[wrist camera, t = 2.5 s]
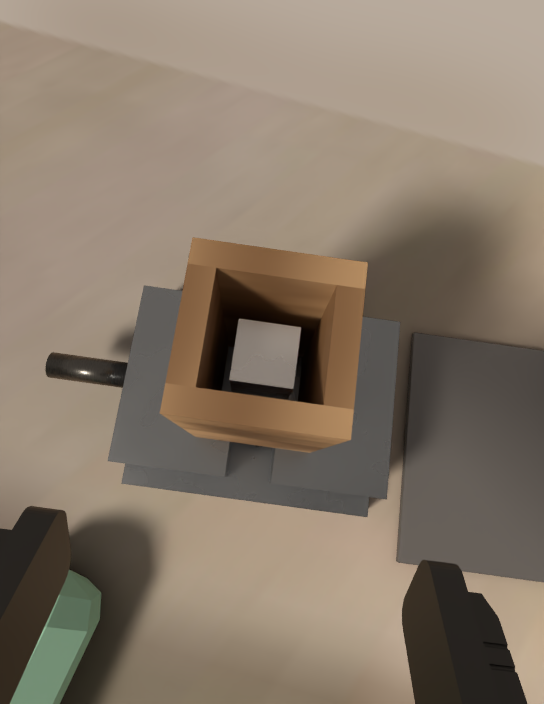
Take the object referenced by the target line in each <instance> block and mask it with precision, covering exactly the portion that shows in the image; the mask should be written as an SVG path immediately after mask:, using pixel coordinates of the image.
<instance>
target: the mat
mask: <svg viewBox="0 0 544 704" xmlns="http://www.w3.org/2000/svg"><path fill="white" fill-rule="evenodd" d="M422 560H431V561H438V562H446V563H453V564H457V565H458V566H459V567H460V569H461V571H464V572H472V573H479V574H486V575H494V576H501V577H509V578H516V579H523V580H531V581H538V582H544V351H541V350H534V349H527V348H520V347H513V346H506V345H499V344H492V343H485V342H478V341H471V340H464V339H457V338H450V337H443V336H436V335H429V334H422V333H415V332H414V333H413V334H412V343H411V357H410V372H409V386H408V400H407V414H406V429H405V443H404V457H403V471H402V486H401V500H400V514H399V529H398V543H397V557H396V561H397V562H398V563H406V564H413V565H419V564H420V562H421V561H422Z"/></svg>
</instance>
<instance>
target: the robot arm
mask: <svg viewBox="0 0 544 704" xmlns="http://www.w3.org/2000/svg"><path fill="white" fill-rule="evenodd" d="M70 562H71V547H70V539H69V532H68V524H67V517H66V513H65V511H63V510H57V509H49V508H42V507H34V506H29V507H27V508H26V509H25V510H24V512H23V513H22V514H21V516H20V518H19V519H18V521H17V523H16V524H15V526H14V528H13V529H12V530H7V529H0V704H10V702H11V700H12V698H13V695H14V693H15V691H16V689H17V686H18V684H19V682H20V680H21V678H22V675H23V673H24V671H25V669H26V667H27V664H28V662H29V660H30V658H31V656H32V653H33V651H34V649H35V647H36V645H37V642H38V640H39V638H40V636H41V634H42V631H43V629H44V627H45V625H46V623H47V620H48V618H49V616H50V614H51V611H52V609H53V607H54V605H55V603H56V600H57V598H58V596H59V594H60V592H61V589H62V587H63V585H64V583H65V580H66V578H67V575H68V571H69V567H70ZM402 625H403V632H404V638H405V644H406V650H407V656H408V662H409V668H410V674H411V681H412V687H413V693H414V699H415V704H527V701H526V698H525V695H524V692H523V689H522V686H521V683H520V680H519V677H518V674H517V673H516V672H515V665H514V662H513V659H512V656H511V653H510V650H508V649H507V645H508V644H507V642H506V639H505V636H504V633H503V630H502V627H501V624H500V621H499V618H498V616H497V615H496V614H495V612H494V611H493V609H492V608H491V606H490V605H489V604H488V602H487V601H486V599H485V598H484V597H483V595H482V594H480V593H473V592H468V590H467V587H466V583H465V580H464V577H463V574H462V571H461V569H460V567H459V566H458V565H457V564H453V563H446V562H438V561H431V560H422V561H421V562H420V564H419V566H418V568H417V571H416V573H415V575H414V577H413V580H412V582H411V584H410V586H409V589H408V591H407V593H406V595H405V598H404V602H403V608H402Z"/></svg>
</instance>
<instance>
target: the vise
mask: <svg viewBox="0 0 544 704" xmlns="http://www.w3.org/2000/svg"><path fill="white" fill-rule="evenodd" d="M181 297H182V291H179V290H172V289H165V288H158V287H151V286H144V288H143V293H142V298H141V303H140V307H139V312H138V317H137V322H136V327H135V332H134V336H133V341H132V346H131V351H130V356H129V360H128V363H125V362H118V361H111V360H104V359H97V358H90V357H83V356H75V355H68V354H61V353H54V352H53V353H51V354H50V355H49V357H48V359H47V362H46V375H47V376H48V377H50V378H57V379H64V380H71V381H79V382H86V383H93V384H100V385H107V386H114V387H121V388H123V389H122V394H121V399H120V404H119V409H118V414H117V418H116V423H115V428H114V433H113V438H112V443H111V447H110V452H109V457H108V461H111V462H119V463H125V468H124V473H123V478H122V484H129V485H136V486H144V487H151V488H158V489H166V490H173V491H180V492H187V493H195V494H202V495H209V496H217V497H224V498H231V499H238V500H246V501H253V502H260V503H268V504H275V505H282V506H290V507H297V508H304V509H311V510H319V511H326V512H333V513H341V514H348V515H355V516H362V517H367V516H368V504H369V497H373V498H380V499H387V489H388V476H389V463H390V450H391V437H392V424H393V411H394V397H395V384H396V371H397V358H398V345H399V332H400V322H397V321H390V320H383V319H376V318H369V317H363V319H362V329H361V340H360V350H359V361H358V371H357V382H356V392H355V403H354V413H353V424H352V434H351V440H349V441H346V442H343V443H340V444H336V445H333V446H330V447H327V448H324V449H320V450H317V451H314V452H311V453H308V452H301V451H293V450H286V449H279V448H272V447H265V446H257V445H250V444H243V443H236V442H228V441H221V440H214V439H207V438H200V437H195V436H193V435H192V434H190V433H189V432H187V431H186V430H184V429H183V428H181V427H180V426H178V425H177V424H175V423H174V422H172V421H170V420H169V419H167V418H166V417H164V416H163V415H161V414H160V409H161V403H162V398H163V393H164V387H165V382H166V377H167V371H168V366H169V361H170V355H171V350H172V345H173V339H174V334H175V329H176V323H177V318H178V313H179V307H180V302H181ZM300 333H301V327H295V326H288V325H281V324H274V323H267V322H260V321H253V320H246V319H239V321H238V327H237V334H236V340H235V347H230V346H229V347H228V353H227V360H226V366H225V372H224V379H223V385H222V391H225V392H233V393H240V394H247V395H254V396H261V397H268V398H275V399H283V400H290V401H297V402H298V393H299V385H300V377H301V369H302V361H303V357H301V356H298V349H299V341H300Z"/></svg>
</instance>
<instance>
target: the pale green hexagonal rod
mask: <svg viewBox="0 0 544 704" xmlns="http://www.w3.org/2000/svg"><path fill="white" fill-rule="evenodd" d="M100 606H101V592H100V591H99V590H98V589H97V588H96V587H95V586H94V585H93V584H92V583H91V582H90V581H89V580H88V579H87V578H86V577H84V576H81V575H79V574H77V573H75V572H73V571H71V570H69V571H68V575H67V578H66V580H65V583H64V585H63V587H62V589H61V592H60V594H59V596H58V598H57V600H56V603H55V605H54V607H53V609H52V611H51V614H50V616H49V618H48V620H47V623H46V625H45V627H44V629H43V631H42V634H41V636H40V638H39V640H38V642H37V645H36V647H35V649H34V651H33V653H32V656H31V658H30V660H29V662H28V664H27V667H26V669H25V671H24V673H23V675H22V678H21V680H20V682H19V684H18V686H17V689H16V691H15V693H14V695H13V698H12V700H11V702H10V704H60V702H61V700H62V698H63V696H64V694H65V692H66V690H67V688H68V685H69V683H70V681H71V679H72V677H73V675H74V673H75V671H76V669H77V666H78V664H79V662H80V660H81V658H82V656H83V654H84V652H85V650H86V648H87V645H88V643H89V641H90V639H91V637H92V635H93V633H94V631H95V629H96V626H97V624H98V622H99V620H100Z"/></svg>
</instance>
